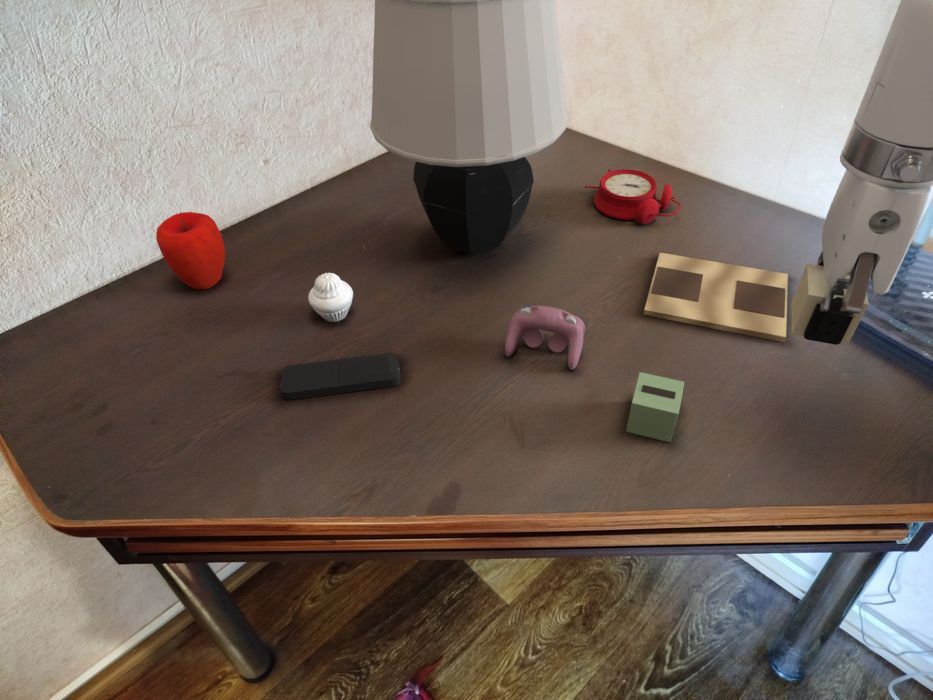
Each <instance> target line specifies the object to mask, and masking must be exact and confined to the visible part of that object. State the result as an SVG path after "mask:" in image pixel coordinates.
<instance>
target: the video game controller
mask: <svg viewBox="0 0 933 700" xmlns="http://www.w3.org/2000/svg"><path fill="white" fill-rule="evenodd" d="M542 331H546V332H549V333H553V334H552V335H551V336H550V338H549V339H548V343H547V346H548V349H550V351H552V352H553V353H561V352H562V351H564V350H565V349H566V347H567V346H568V354H567V366H568V369H569V370H570V371H572V370H575V369H576V368H577V366H578V364H579V361H580V359H581V354H582V350H583V346H584V337H585V331H586V325H585V323H584V321H583V320H582V319H581V318H580V317H579V316H577V315H574V314H572V313H570V312H569V311H567V310H564V309H561V308H558V307H553V306H548V305H527V306H522V307H520V308H518V309H517V311H516V312H514V314H513V315H512V317H511V319H510V321H509V324H508V327H507V332H506V336H505V343H504V354H505V356H506V357H507V358H510V357H512V355H513V354H514V353H515V351H516V349H517V347H518V344H519V342H520V340H521V337H523V339H524V342H525V344H526V345H527V346H528V348H529V347H530V348H538V347H539V346H541V345H542V343H543V341H544V334H543V332H542Z"/></svg>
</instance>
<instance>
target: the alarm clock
mask: <svg viewBox="0 0 933 700" xmlns="http://www.w3.org/2000/svg"><path fill="white" fill-rule="evenodd" d="M607 171H608V172H606V173H605V174H604V175H603V176H601V178H600V181H599V186H590V185H589V186H588V185H585V186H584V188H585V189H587V188H588V189H595V190H596V189H597V190H598V191H597V192H596V193H595V195H594V197H593V203H594V206H595V209H597V210H598V211H599V212H600V213H602V214H604V215H605V216H607V217H611V218H613V219H619V220H626V221H628V220H635V221H636V222H637V223H638V224H640V225H647V224H650V223H651V222H652V221H654V220H655V219H656V218H657V216H659V217H671V216H674V215H676V214H677V213H678V212H679V211H680V210H681V208H682V205H681V203H680V202H679V201H677V200H675V199H676V197H675V196H673V187H672V185H671V184H669V183H665V184H664V187H663V190H662V194H661V198H660V199H657V197H656V193H657V189H658V187H657V182H656V180H655V179H654V178H653V177H652V176H651V175H650V174H649V173H646V172H643V171H641V170H636V169H627V168H626V169H624V168H623V169H615V170H611V169H610V168H608V169H607ZM671 201H672V202H673V203H675V204H677V205H678V209H677V210H676V211H674V212H673V213H670V214H661V213H659V211H665V210H667V209H668V207H669V205H670V203H671Z"/></svg>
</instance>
